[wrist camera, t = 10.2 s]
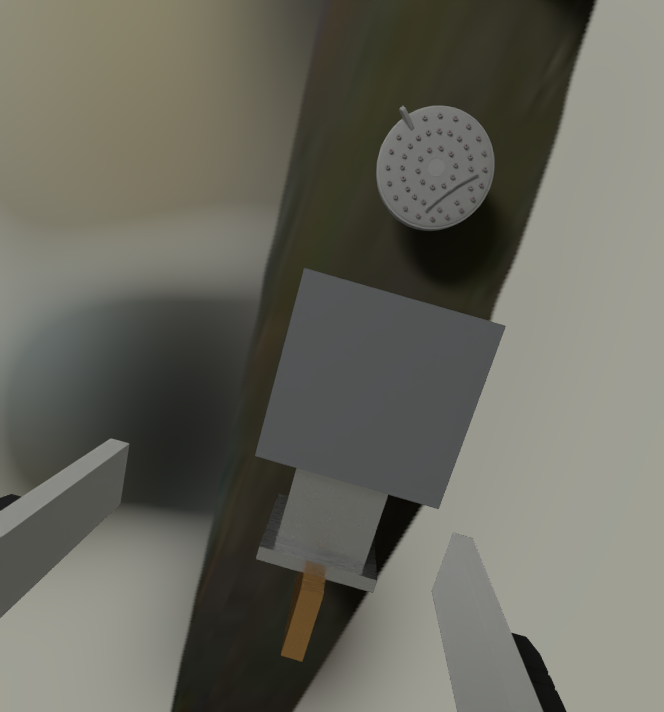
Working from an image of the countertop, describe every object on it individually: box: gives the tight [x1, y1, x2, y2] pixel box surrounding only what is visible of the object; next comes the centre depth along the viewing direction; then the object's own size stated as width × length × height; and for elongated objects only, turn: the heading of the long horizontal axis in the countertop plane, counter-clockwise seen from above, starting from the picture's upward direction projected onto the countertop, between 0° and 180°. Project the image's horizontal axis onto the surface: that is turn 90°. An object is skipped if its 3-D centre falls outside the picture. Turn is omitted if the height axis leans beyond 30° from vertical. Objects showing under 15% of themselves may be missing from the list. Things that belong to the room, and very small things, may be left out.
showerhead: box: [376, 106, 494, 231], centre depth 35 cm, size 9×7×10 cm
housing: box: [255, 268, 505, 509], centre depth 35 cm, size 14×14×14 cm
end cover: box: [256, 468, 388, 661], centre depth 36 cm, size 19×10×10 cm, turn 164°
